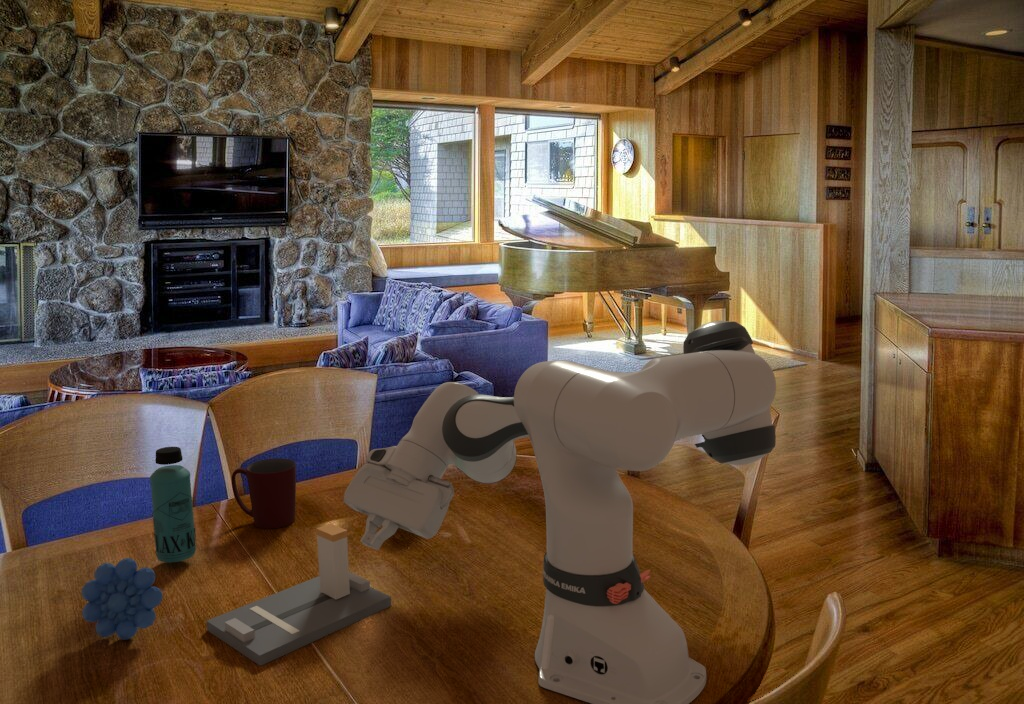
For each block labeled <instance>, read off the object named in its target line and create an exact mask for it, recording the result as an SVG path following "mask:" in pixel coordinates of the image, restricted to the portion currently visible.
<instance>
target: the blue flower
mask: <svg viewBox="0 0 1024 704" xmlns="http://www.w3.org/2000/svg"><path fill="white" fill-rule="evenodd" d="M93 576H94V579H91V580H89V581H87V582H86V583H85V584H83V585H84V586H83V587H82V588H81V593H80V594H81V595H82V599H83V600H85V601H87V603H86V604H85V605H84V607H82V612H81V615H82V618H83V620H84V621H86V622H88V623H95V628H94V629H95V632H96V633H97V636H100V637H102V638H109V637H111V636H113V635H114V634H115V633H116V637H117V638H118V639H120V640H122V641H123V640H124V641H125V640H127V641H128V640H130V639H131V638H133V637H135V635H136V634H137V632H138V629H147V628H149V627H150V626H152V625H153V624H154V623H155V620H156V615H157V614H156V612H155V610H154V608H156V607H158V606H159V605H160V604H161V603H162V601H163V592H162V590H161V589H160V588H159V587H157V586H152V585H153V584H155V581H156V573H155V571H154V570H153V569H152V568H151V567H141V568H140V569H138V564H137V562H136V561H135V560H134V559H132V557H124V558H122V559H121V560H119V562H117V564H116V565H114V564H112V563H111V562H104V563H102V564H101V565H99V566H98V567H97V568H96V570H95V571H94V575H93Z"/></svg>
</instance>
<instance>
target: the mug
mask: <svg viewBox="0 0 1024 704" xmlns="http://www.w3.org/2000/svg"><path fill="white" fill-rule="evenodd" d="M296 465H297V464H296V461H294V460H292V459H290V458H289V459H288V458H280V457H279V458H267V459H261V460H257V461H255V462H251V463H250V464H248V465H246V468H243V467H239V468H236V469H234V471H233V472H232V474H231V486H232V492H233V496H234V499H235V500H236V503H237V504H238V506H239V508H240V509H241V510H242V511H243V512H244V513H245V514H246V515H248V516H249V517H251V518H253V524H254V526H255V527H258V528H260V529H267V530H268V529H269V530H270V529H278V528H283V527H287V526H289V525H291V524H293V523H294V522H295V520H296V501H297V499H296V495H297V493H296V492H297V468H296ZM237 474H243V475H244V476H246V479H247V486H248V493H249V498H250V505H251V508H249V507H247V505H246V504H245V503H244V502H243V499H241V495H240V494H239V491H238V487H237V482H236V475H237Z"/></svg>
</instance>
